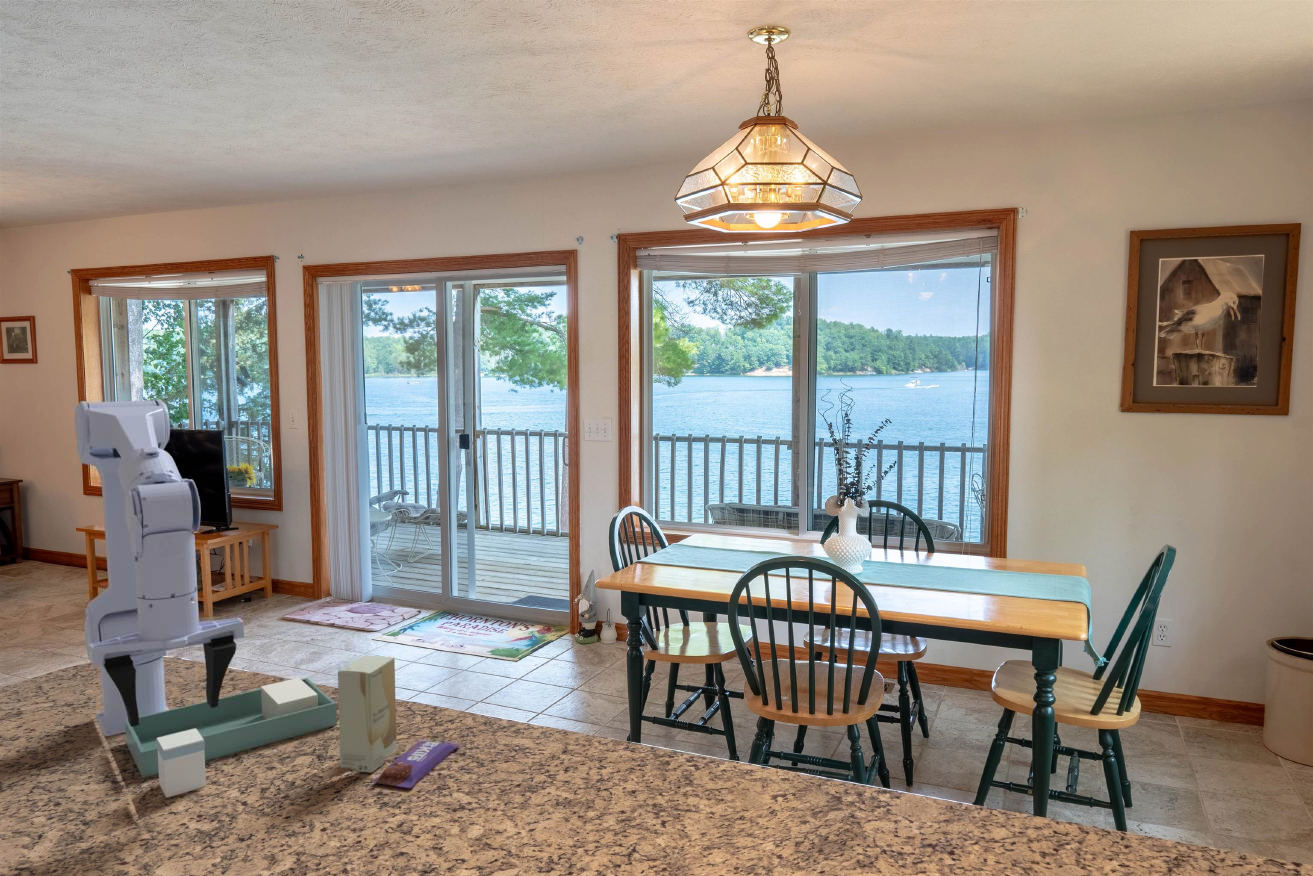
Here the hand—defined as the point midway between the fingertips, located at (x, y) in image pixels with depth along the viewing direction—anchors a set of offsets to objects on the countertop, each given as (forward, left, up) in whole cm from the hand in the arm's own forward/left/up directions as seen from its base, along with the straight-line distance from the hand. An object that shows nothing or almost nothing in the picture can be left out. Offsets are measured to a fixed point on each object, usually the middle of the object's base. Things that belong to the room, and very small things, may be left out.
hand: (174, 713), depth 93 cm
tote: (-14, +9, -10) cm, 19 cm away
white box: (-14, +16, -10) cm, 23 cm away
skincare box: (+4, +20, -10) cm, 23 cm away
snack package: (+9, +24, -11) cm, 28 cm away
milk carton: (-3, +1, -10) cm, 10 cm away
